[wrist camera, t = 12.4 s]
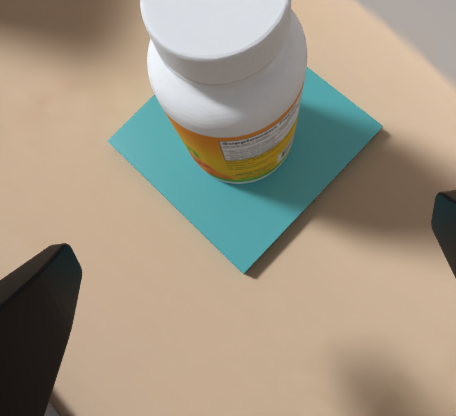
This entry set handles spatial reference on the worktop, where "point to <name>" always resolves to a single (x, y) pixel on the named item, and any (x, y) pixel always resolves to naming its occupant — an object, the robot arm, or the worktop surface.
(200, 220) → the teal mat
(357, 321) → the worktop surface
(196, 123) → the supplement bottle
